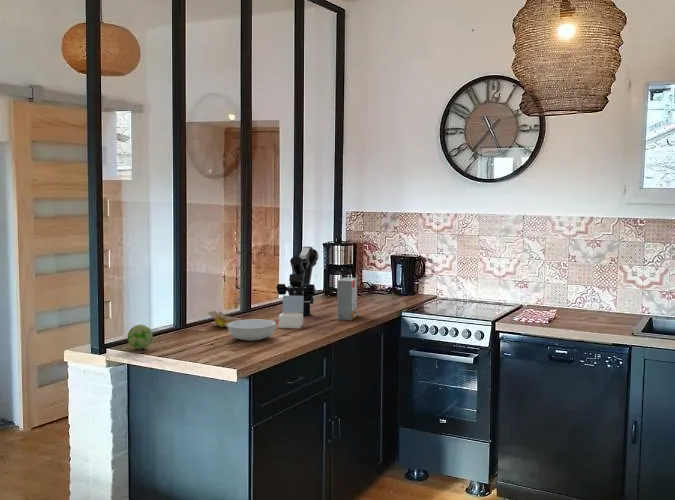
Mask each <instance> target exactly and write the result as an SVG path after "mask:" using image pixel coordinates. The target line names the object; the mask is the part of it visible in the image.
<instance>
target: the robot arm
mask: <svg viewBox="0 0 675 500" xmlns="http://www.w3.org/2000/svg"><path fill="white" fill-rule="evenodd" d="M318 260H319V253H318V251H317V250H316V249H314V248H313V247H312V246H307V245H306V246H302V249H301V252H300V254H295V255H294V256H293V257H292V258H290V260H289V262H290V266H291V270H292V271H293V272H292V273H290V274H289V278H288V279H289V285H288V286H286V283H277V284H276V291H277V295H281V296H283V295H285V296H286V294H287V293H288V296H304V302H303V317H309V316H313V313H311V305H313V304H314V302H315V301H314V296H315V295H316V292H317V291H316V286H315V284H313V283H312V284H311V280H312V279H311V278H312V274H313V268H314V267H315V266H316V265H317V262H318Z"/></svg>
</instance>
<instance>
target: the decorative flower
mask: <svg viewBox="0 0 675 500" xmlns="http://www.w3.org/2000/svg"><path fill="white" fill-rule="evenodd" d="M207 314H208V315H209V316H210V317H212V318H213V319H214V321H212V322H210V324H211V325H217V326H219V327H221V328H224V327H226V328H228V326H227V325H228V323H230V322H233V321H238V320H242V318H240V317H234V316H229V315H228V316H227V315H225V314H224V313H223V312H222V311H221V310H220V311H218V312H217V311H215V310H212V311H208V312H207Z"/></svg>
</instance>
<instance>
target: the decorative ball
mask: <svg viewBox="0 0 675 500" xmlns="http://www.w3.org/2000/svg"><path fill="white" fill-rule="evenodd" d="M127 341H128V343H129V345H130V346H131V347H133V348H134V349H136V350H144V349H147V348H148V347H150V345H151V343H152V342H153V332H152V329H151V328H150V327H148V326H147V325H145V324H137V325H133V327H131V328H130V329H129V331H128V333H127ZM143 348H144V349H143Z"/></svg>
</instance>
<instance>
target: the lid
mask: <svg viewBox="0 0 675 500" xmlns="http://www.w3.org/2000/svg"><path fill="white" fill-rule="evenodd" d="M303 302H304V296H289V295H286V294H285V295H282V313H303Z"/></svg>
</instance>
